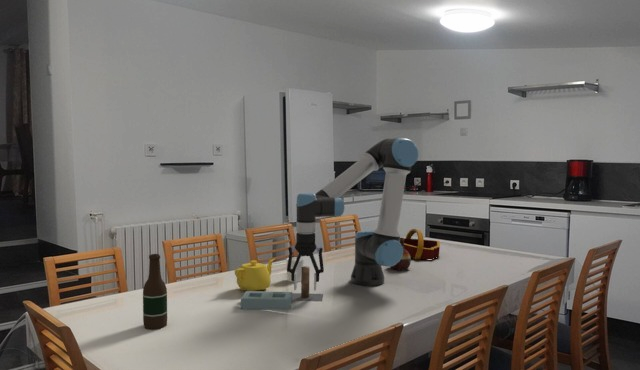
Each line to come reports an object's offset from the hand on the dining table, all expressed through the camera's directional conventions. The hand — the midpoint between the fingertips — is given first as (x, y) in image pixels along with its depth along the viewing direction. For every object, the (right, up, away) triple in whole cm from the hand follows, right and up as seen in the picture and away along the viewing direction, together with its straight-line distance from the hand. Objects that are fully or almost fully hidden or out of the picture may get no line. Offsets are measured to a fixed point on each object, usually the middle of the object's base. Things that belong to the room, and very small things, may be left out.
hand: (305, 289), depth 202 cm
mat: (0, -4, 0) cm, 3 cm away
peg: (0, -3, 0) cm, 3 cm away
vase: (+46, -1, +53) cm, 70 cm away
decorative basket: (+59, +1, +88) cm, 106 cm away
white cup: (-5, -2, +26) cm, 27 cm away
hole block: (-14, -4, -10) cm, 18 cm away
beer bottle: (-49, -6, -33) cm, 59 cm away
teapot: (-21, -3, +11) cm, 24 cm away
